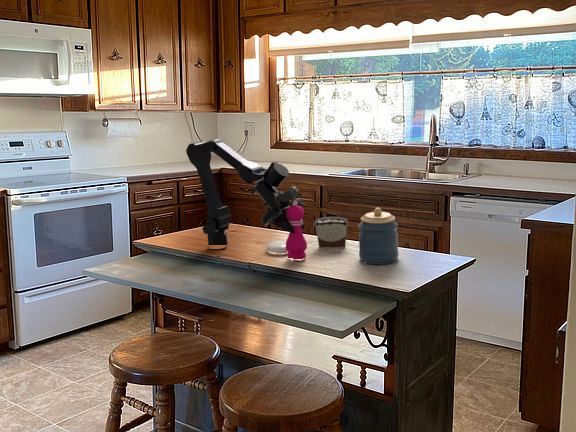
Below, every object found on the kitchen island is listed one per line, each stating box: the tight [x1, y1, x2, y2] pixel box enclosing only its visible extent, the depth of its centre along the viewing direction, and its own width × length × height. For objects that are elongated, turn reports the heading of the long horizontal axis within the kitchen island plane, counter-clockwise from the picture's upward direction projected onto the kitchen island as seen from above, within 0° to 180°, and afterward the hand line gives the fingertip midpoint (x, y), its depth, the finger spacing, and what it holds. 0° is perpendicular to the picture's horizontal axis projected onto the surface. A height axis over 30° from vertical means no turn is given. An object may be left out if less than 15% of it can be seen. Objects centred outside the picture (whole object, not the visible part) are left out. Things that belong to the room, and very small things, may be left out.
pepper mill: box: [285, 200, 308, 259], centre depth 215 cm, size 7×7×20 cm
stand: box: [266, 240, 288, 253], centre depth 229 cm, size 11×11×2 cm
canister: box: [357, 207, 399, 265], centre depth 212 cm, size 13×13×18 cm
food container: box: [313, 216, 350, 249], centre depth 231 cm, size 12×6×10 cm, turn 84°
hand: (298, 230), depth 214 cm, fingers closed on pepper mill, 5 cm apart
